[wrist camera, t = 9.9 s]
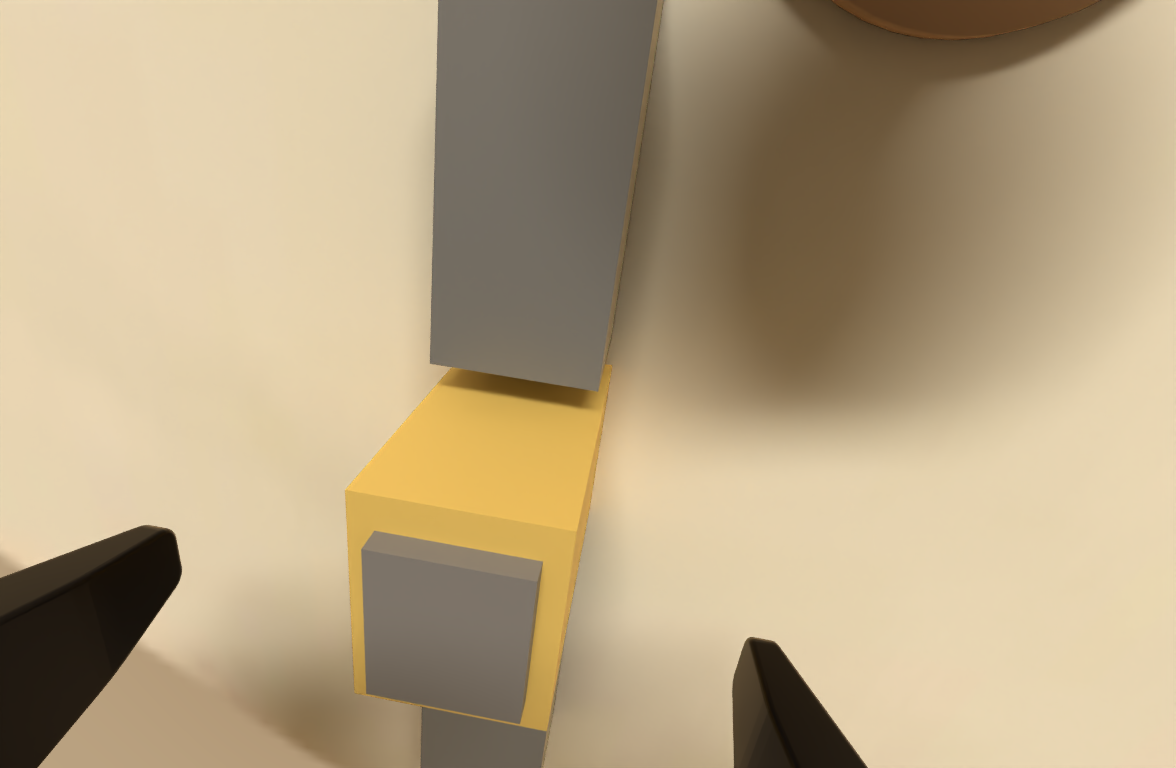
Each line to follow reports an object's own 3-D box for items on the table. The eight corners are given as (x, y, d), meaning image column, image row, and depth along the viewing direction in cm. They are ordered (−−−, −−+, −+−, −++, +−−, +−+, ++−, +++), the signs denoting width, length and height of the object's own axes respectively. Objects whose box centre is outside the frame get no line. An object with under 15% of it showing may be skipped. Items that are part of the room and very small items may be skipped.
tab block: (589, 511, 15) (542, 755, 9) (465, 488, 15) (342, 715, 9) (612, 365, 13) (572, 551, 8) (473, 342, 14) (330, 507, 8)
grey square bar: (552, 715, 18) (533, 821, 15) (456, 696, 18) (420, 797, 16) (668, -33, 10) (671, -91, 8) (498, -56, 10) (440, -119, 8)
